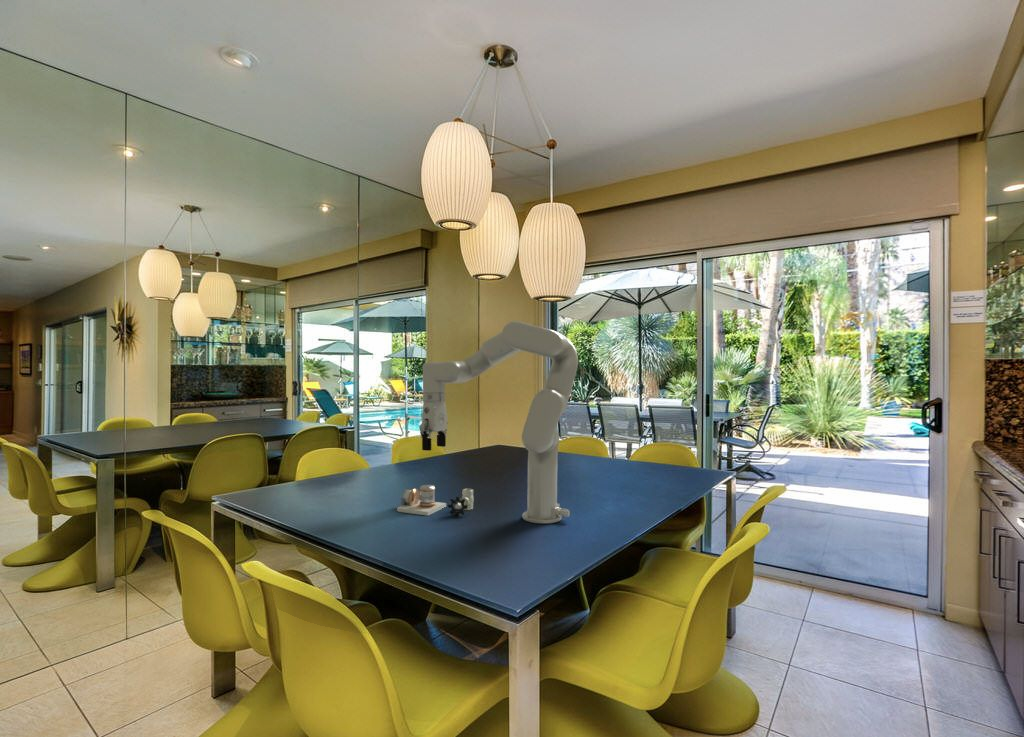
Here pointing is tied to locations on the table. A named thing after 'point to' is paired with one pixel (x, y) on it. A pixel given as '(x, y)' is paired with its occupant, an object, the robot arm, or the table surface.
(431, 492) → the coupling
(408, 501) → the fixed stub
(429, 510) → the plate
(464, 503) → the valve
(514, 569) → the table surface
